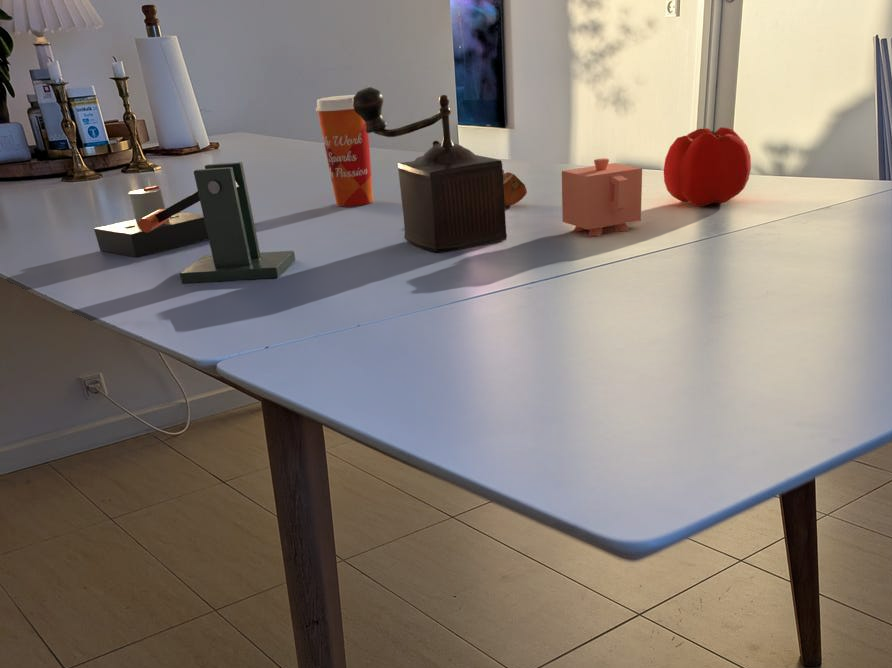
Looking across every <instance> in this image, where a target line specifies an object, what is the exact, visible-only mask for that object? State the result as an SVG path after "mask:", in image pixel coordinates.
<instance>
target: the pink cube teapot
mask: <svg viewBox="0 0 892 668" xmlns="http://www.w3.org/2000/svg"><path fill="white" fill-rule="evenodd" d="M609 162H610V159H609V158H606V157H605V158H595V159H594V160H593V164H594V165H592V166H585V167H578V168H573V169H565V170H561V205H562V206H561V207H562V212H561V213H562V215H561V216H562V223H565V224H568V225H571V226H575V227H574V228H573V231H574V232H583V231H586V230H587V231H588V230H589V232H588V236H591V237H596V236H597V237H598V236H602V235H603V229H602V228H605V227H612V226H614V228H615V231H617V232H626V231H629V230H630V228H629V227H628V225H627V224H629V223H635V222H639V221H642V196H643V195H642V194H643V193H642V191H643V168H642V167H637V166H633V165H627V164H622V163H617V162H613V163H612V162H611V163H609Z"/></svg>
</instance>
